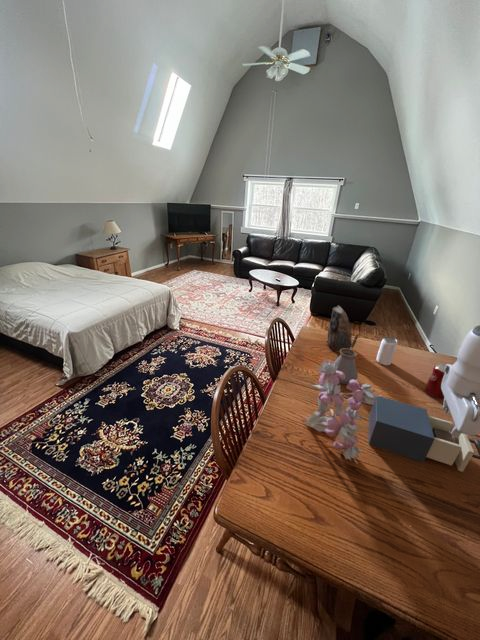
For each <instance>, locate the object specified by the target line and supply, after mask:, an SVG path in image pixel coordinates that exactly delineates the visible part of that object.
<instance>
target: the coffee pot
mask: <svg viewBox="0 0 480 640" xmlns="http://www.w3.org/2000/svg"><path fill="white" fill-rule="evenodd" d="M359 338H360V336H359V333H357V334H356V333H355V334H354V338H353V340H352V342H351V343H352V345H351V348H350V349H347V348H343V349H341V350H340V351H339V353H340V355H339V356H338V357H337V358H336V359H335V361H334V362H332V364H333V366H334V364H335V362H337V364H338V368H337V370H338V371H341V372H343V373H344V374H345V379H344V380H343V379H342V378H341V377H339V376H337V377H338V378H339V384H340V385H341V384H342V385H348V384H349V383H350V380H352V379H353V380H358V378H359V377H358V376H359V375H358V370H357V366H356V362H355V358H356V357H358V354H357V352H356V351H355V350H353V348H354V346H355V345H356V343H357V339H359Z"/></svg>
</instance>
